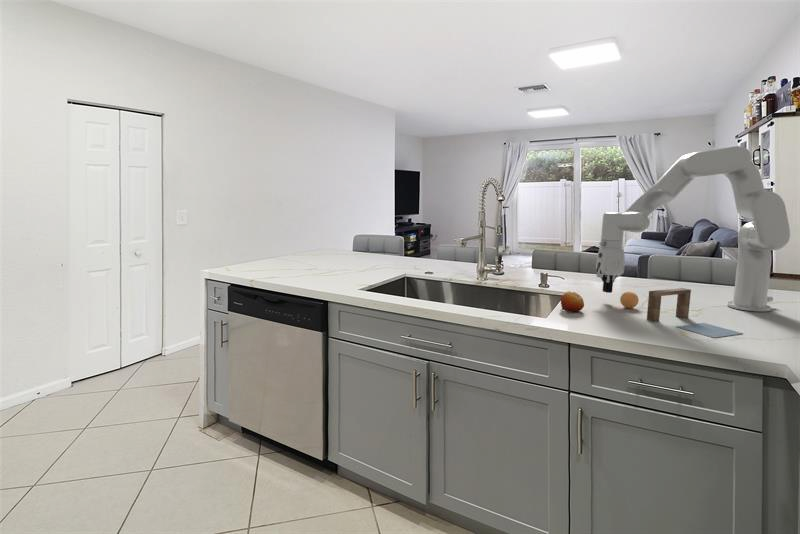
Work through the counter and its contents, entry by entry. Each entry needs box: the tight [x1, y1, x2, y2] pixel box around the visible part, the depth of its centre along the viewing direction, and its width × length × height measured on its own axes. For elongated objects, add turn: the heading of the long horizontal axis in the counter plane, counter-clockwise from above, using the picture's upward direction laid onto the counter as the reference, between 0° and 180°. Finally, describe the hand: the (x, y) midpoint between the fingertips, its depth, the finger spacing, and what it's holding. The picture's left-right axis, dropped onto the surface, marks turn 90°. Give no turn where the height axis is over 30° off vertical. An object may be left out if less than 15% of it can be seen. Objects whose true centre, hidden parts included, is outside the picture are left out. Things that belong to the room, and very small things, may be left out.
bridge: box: [646, 287, 692, 323], centre depth 148 cm, size 3×15×10 cm, turn 110°
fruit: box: [559, 291, 585, 314], centre depth 159 cm, size 8×8×8 cm
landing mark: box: [675, 322, 744, 339], centre depth 136 cm, size 12×12×1 cm
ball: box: [619, 291, 640, 309], centre depth 163 cm, size 6×6×6 cm
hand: (607, 291), depth 172 cm, fingers closed
